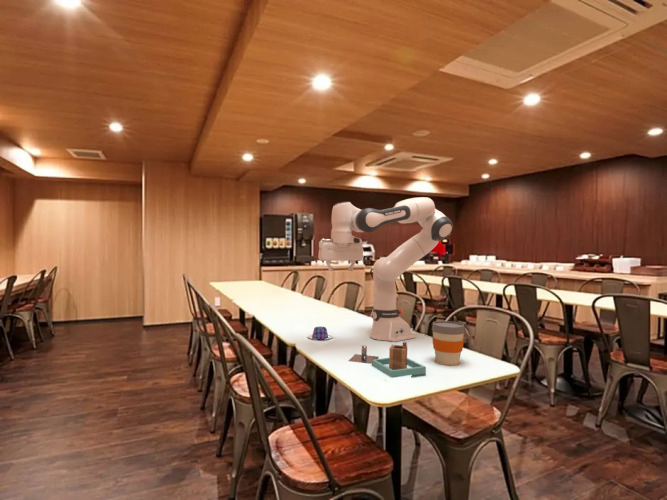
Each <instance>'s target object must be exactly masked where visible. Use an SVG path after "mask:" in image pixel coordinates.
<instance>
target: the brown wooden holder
mask: <svg viewBox="0 0 667 500" xmlns="http://www.w3.org/2000/svg"><path fill="white" fill-rule="evenodd" d="M388 358H389V364H388V368H390V369H392V370H398V369H406V368H407V367H408V365H407V358H408V342H407V341H402V345H398V344H391V346H390V347H389V357H388Z"/></svg>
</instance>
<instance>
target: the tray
mask: <svg viewBox="0 0 667 500" xmlns="http://www.w3.org/2000/svg"><path fill="white" fill-rule="evenodd" d="M386 365H389V357H385V358H383V357H382V358H378V359H374V360H372V364H371V366H372V367H374V368H375V369H377V370H379V371H380V372H382V373H383V374H386V375H387V376H388V377H390V378H397V377H406V376H410V375H411V376H410V378H417V377H424V376H426V375H427V367H426V366H425V365H423V364H421V363H419V362H417V361H415V360H412V359H411V358H408V357H407V366H409V367H408V368H406V369H398V370H392V369H390V368H389V366H386Z"/></svg>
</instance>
